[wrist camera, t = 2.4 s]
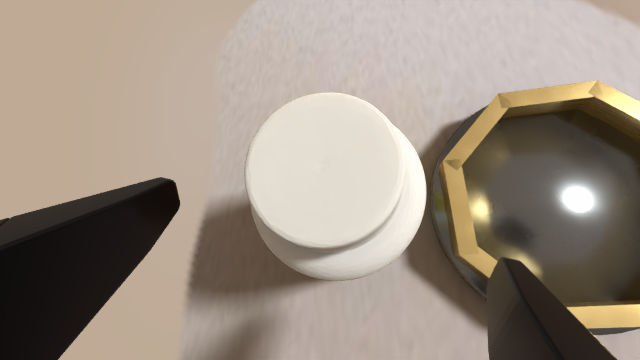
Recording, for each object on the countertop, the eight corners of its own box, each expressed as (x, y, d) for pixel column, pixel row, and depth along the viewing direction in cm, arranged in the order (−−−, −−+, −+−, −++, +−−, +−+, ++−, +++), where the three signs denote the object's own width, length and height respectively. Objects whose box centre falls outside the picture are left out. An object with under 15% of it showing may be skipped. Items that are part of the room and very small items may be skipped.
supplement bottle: (309, 168, 18) (235, 60, 9) (407, 176, 17) (448, 61, 8) (295, 266, 17) (190, 268, 7) (400, 281, 16) (441, 305, 6)
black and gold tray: (736, 325, 13) (803, 337, 11) (450, 334, 15) (462, 345, 13) (642, 85, 16) (682, 59, 14) (415, 114, 18) (420, 95, 16)
